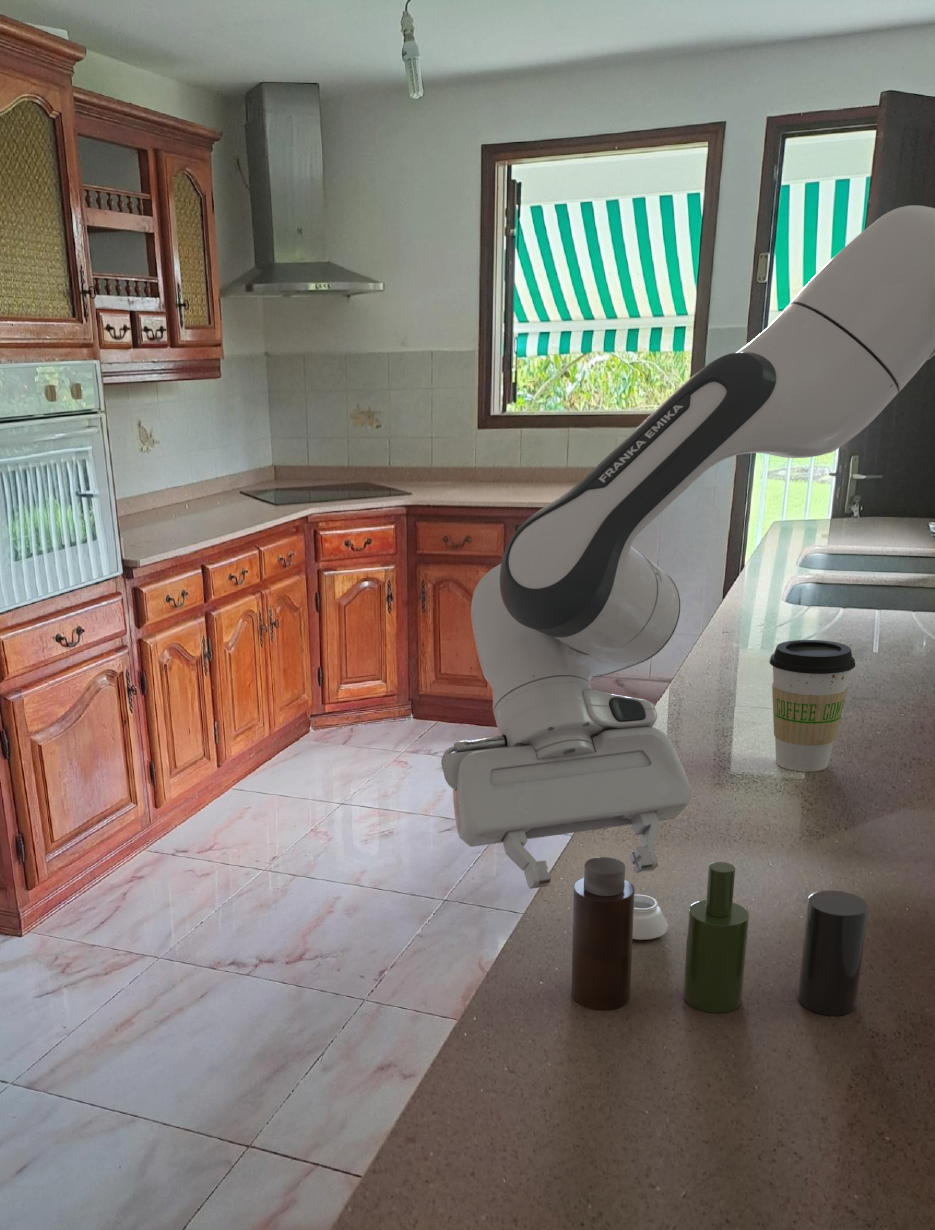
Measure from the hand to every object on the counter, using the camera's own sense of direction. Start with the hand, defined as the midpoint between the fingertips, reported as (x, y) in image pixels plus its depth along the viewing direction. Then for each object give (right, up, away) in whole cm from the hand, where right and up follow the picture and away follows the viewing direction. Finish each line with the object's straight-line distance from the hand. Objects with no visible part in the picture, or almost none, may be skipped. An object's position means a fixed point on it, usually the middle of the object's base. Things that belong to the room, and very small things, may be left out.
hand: (594, 877), depth 92 cm
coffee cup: (+38, +10, +50) cm, 63 cm away
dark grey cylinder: (+19, -10, -1) cm, 21 cm away
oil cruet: (+10, -10, 0) cm, 14 cm away
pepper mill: (+1, -10, +2) cm, 10 cm away
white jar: (+7, -6, +12) cm, 15 cm away
